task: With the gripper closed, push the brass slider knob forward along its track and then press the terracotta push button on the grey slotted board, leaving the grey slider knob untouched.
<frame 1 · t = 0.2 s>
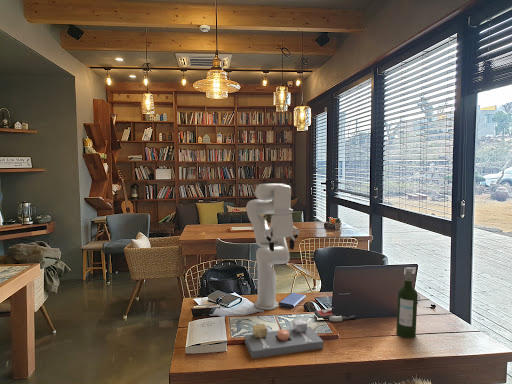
hand: (281, 249, 156), 36 cm above the table, tool pointing down, fingers open, 9 cm apart
grey slotted board: (283, 345, 143), on the table
brass slider: (259, 330, 144), point 5 cm above the table, slide at 0.0 cm
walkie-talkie: (333, 318, 169), on the table
terracotta button: (283, 335, 143), point 4 cm above the table, slide at 0.0 cm
wine bottle: (405, 334, 153), on the table
grey slider: (299, 325, 149), point 5 cm above the table, slide at 0.0 cm
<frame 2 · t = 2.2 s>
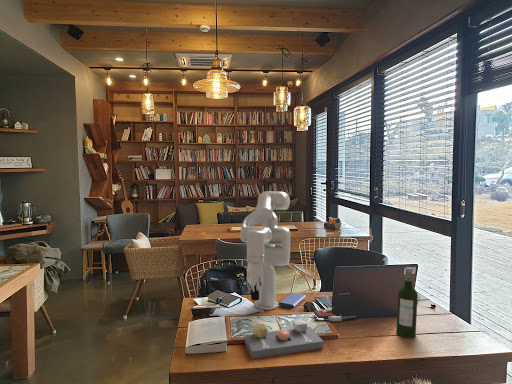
hand: (255, 299, 150), 16 cm above the table, tool pointing down, fingers closed
nothing on the table moved.
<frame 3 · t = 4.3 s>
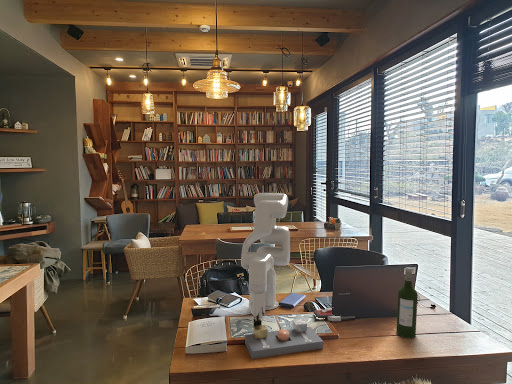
hand: (257, 328, 147), 5 cm above the table, tool pointing down, fingers closed
brass slider: (260, 331, 144), point 5 cm above the table, slide at 0.7 cm, touching gripper
everything else where it was.
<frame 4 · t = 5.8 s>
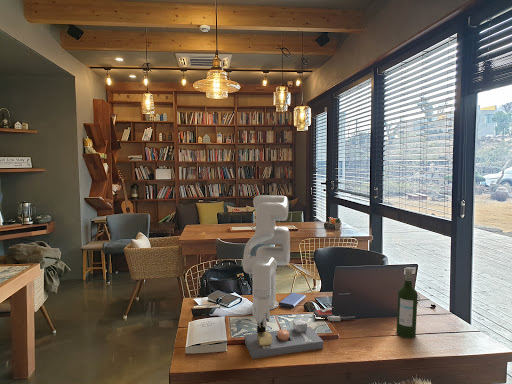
hand: (261, 335, 142), 5 cm above the table, tool pointing down, fingers closed
brass slider: (264, 338, 138), point 5 cm above the table, slide at 6.6 cm, touching gripper
everything else where it was.
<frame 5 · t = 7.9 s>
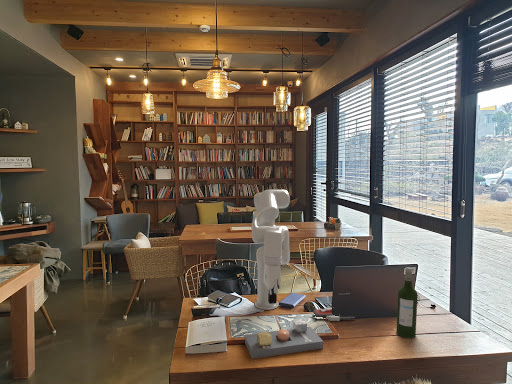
hand: (272, 302, 143), 17 cm above the table, tool pointing down, fingers closed
brass slider: (264, 338, 138), point 5 cm above the table, slide at 6.6 cm
everything else where it was.
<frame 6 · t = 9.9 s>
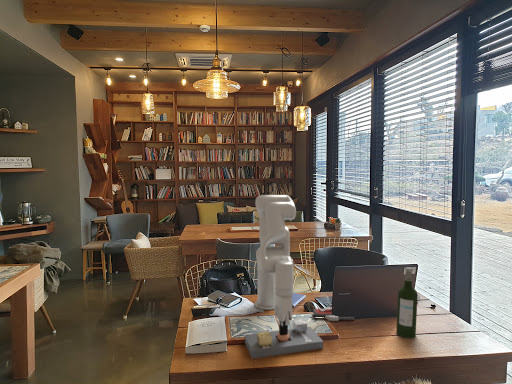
hand: (283, 334, 142), 5 cm above the table, tool pointing down, fingers closed
terracotta button: (283, 336, 143), point 3 cm above the table, slide at 0.7 cm, touching gripper
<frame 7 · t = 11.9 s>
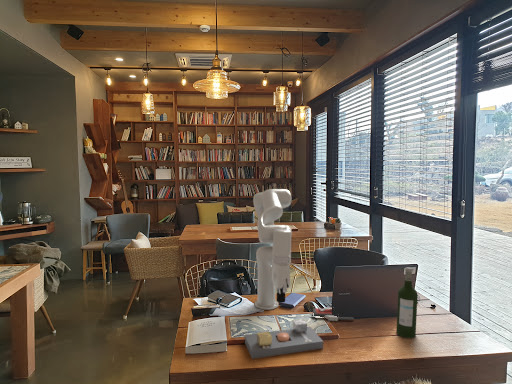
hand: (280, 301, 144), 18 cm above the table, tool pointing down, fingers closed
terracotta button: (283, 338, 143), point 3 cm above the table, slide at 1.4 cm
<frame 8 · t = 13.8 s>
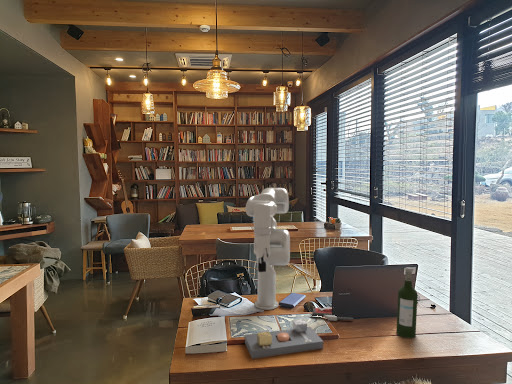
hand: (262, 271, 154), 27 cm above the table, tool pointing down, fingers closed
at the end: brass slider slide at 6.6 cm; terracotta button slide at 1.4 cm; grey slider slide at 0.0 cm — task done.
